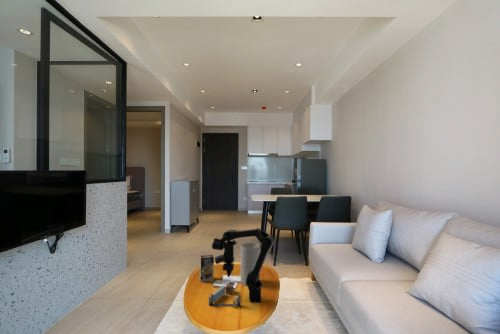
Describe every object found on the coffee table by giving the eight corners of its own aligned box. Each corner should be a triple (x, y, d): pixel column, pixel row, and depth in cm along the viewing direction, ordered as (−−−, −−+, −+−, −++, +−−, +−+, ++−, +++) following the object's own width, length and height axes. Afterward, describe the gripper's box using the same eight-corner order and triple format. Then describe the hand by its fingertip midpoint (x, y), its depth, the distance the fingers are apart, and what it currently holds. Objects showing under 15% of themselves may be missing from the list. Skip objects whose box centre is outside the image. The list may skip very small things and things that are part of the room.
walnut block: (233, 291, 174) (233, 284, 174) (232, 294, 170) (233, 287, 170) (226, 291, 174) (226, 283, 174) (225, 294, 170) (225, 286, 170)
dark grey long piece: (208, 307, 154) (208, 297, 154) (209, 303, 157) (209, 294, 157) (240, 307, 153) (240, 297, 154) (240, 304, 157) (240, 294, 157)
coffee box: (200, 282, 187) (200, 258, 187) (199, 278, 193) (199, 255, 193) (213, 280, 190) (214, 257, 190) (212, 277, 196) (212, 254, 196)
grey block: (214, 302, 158) (214, 294, 158) (211, 301, 158) (211, 293, 158) (225, 293, 168) (225, 286, 168) (222, 293, 169) (222, 285, 169)
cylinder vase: (259, 279, 193) (259, 243, 193) (258, 286, 181) (258, 248, 181) (241, 278, 194) (242, 242, 195) (239, 285, 182) (239, 247, 182)
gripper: (217, 246, 178) (216, 270, 178) (214, 256, 159) (213, 283, 159) (234, 246, 178) (234, 271, 178) (233, 256, 160) (233, 283, 160)
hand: (228, 276), depth 169 cm, fingers closed
